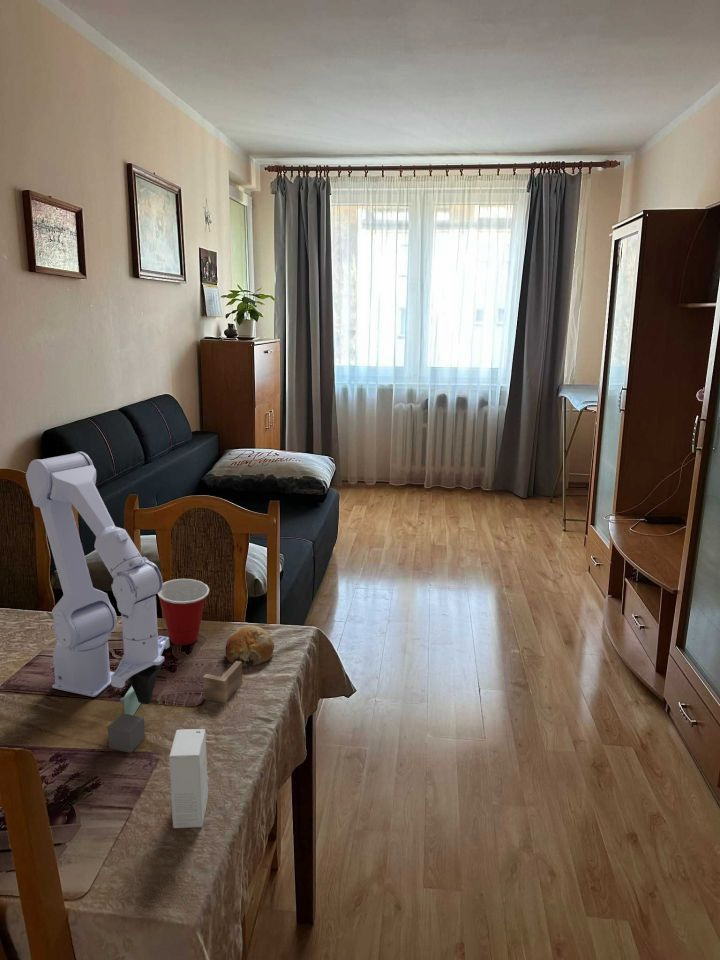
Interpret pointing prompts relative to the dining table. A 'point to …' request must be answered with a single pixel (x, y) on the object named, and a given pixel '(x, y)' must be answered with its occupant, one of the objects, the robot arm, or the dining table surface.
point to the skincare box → (188, 778)
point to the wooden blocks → (222, 684)
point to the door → (130, 702)
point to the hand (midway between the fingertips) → (144, 702)
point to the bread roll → (249, 646)
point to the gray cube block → (126, 732)
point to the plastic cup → (183, 608)
